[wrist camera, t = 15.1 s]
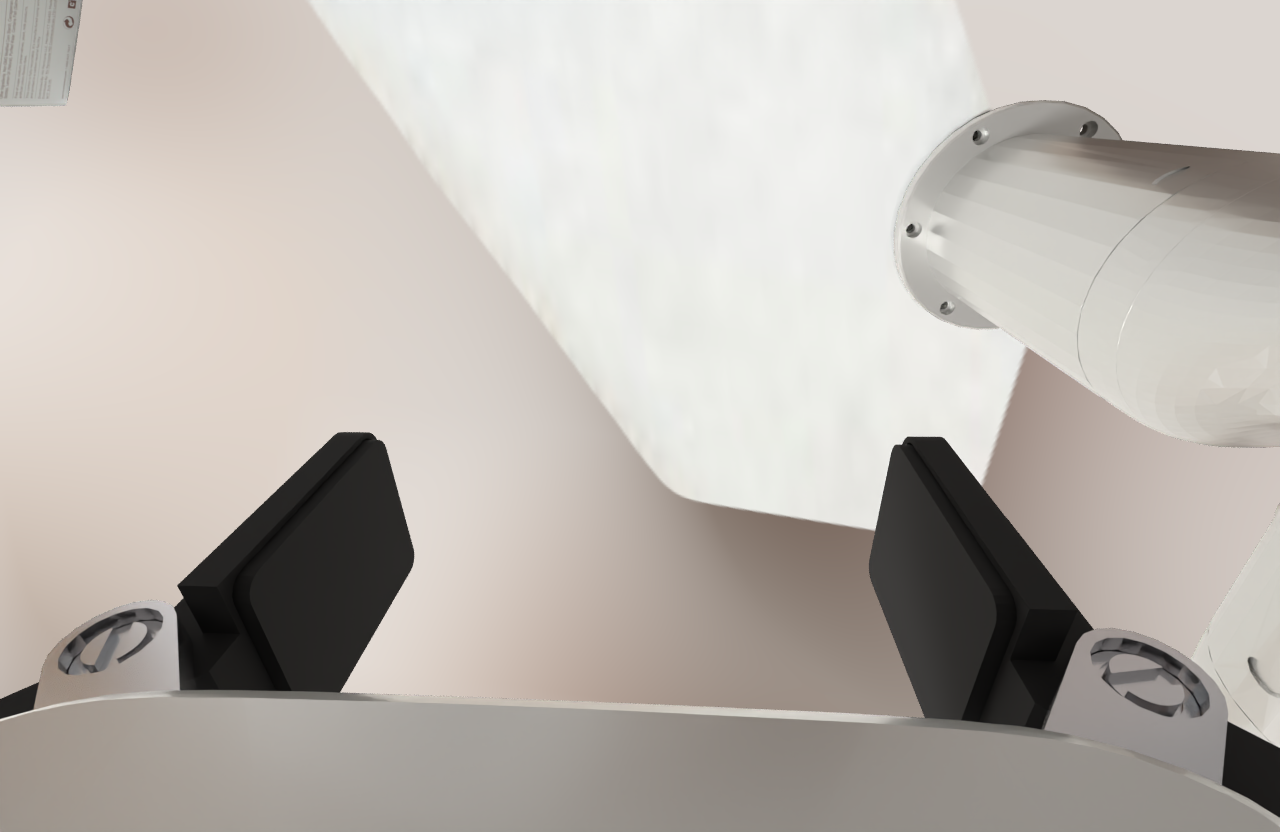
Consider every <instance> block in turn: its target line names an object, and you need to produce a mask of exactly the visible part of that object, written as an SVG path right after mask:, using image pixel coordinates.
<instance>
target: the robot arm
mask: <svg viewBox="0 0 1280 832" xmlns="http://www.w3.org/2000/svg"><path fill="white" fill-rule="evenodd" d="M1082 126H1083V129H1082V131H1081V132H1080V129H1081V127H1082ZM975 131H977V132H978V136H977V138H976V139H975V140H973V134H974V132H975ZM910 224H912V226H913V227H912V229H911V230H910V231H908V232H906V229H907V227H908V226H909V225H910ZM894 256H895V261H896V266H897V271H898V273H899V275H900V278H901V280H902V282H903V284H904V286H905V288H906V290H907V291H908V292H909V293H910V295H911V296H912V297H913V299H914V300H915V301H916V302H917V303H918V304H919V305H921V306H922V307H923V308H924V309H925V310H926V311H927V312H929V313H930V314H932V315H933V316H935V317H936V318H938V319H940V320H942V321H944V322H947V323H950V324H953V325H955V326H958V327H964V328H971V329H977V330H979V329H999V328H1001V329H1002V330H1004V331H1005V332H1006V333H1008V334H1009V335H1011V336H1012V337H1014V338H1015V339H1017V340H1018V341H1019V342H1021V343H1022V344H1024V345H1025V346H1027V347H1028V348H1030V349H1031V350H1032V351H1034V352H1035V353H1037V354H1038V355H1040V356H1041V357H1043V358H1044V359H1045V360H1047V361H1048V362H1050V363H1051V364H1053V365H1054V366H1056V367H1057V368H1059V369H1060V370H1061V371H1063V372H1064V373H1066V374H1067V375H1069V376H1070V377H1072V378H1073V379H1074V380H1076V381H1077V382H1079V383H1080V384H1082V385H1083V386H1085V387H1086V388H1087V389H1089V390H1090V391H1092V392H1093V393H1095V394H1096V395H1098V396H1100V397H1101V398H1103V399H1104V400H1106V401H1107V402H1109V403H1110V404H1112V405H1113V406H1115V407H1116V408H1118V409H1119V410H1120V411H1122V412H1123V413H1125V414H1127V415H1128V416H1130V417H1131V418H1133V419H1134V420H1136V421H1138V422H1140V423H1141V424H1143V425H1145V426H1147V427H1149V428H1151V429H1153V430H1155V431H1158V432H1160V433H1162V434H1165V435H1168V436H1170V437H1173V438H1177V439H1180V440H1185V441H1190V442H1194V443H1199V444H1204V445H1210V446H1218V447H1246V448H1248V447H1249V448H1252V447H1253V448H1266V447H1280V154H1277V153H1266V152H1254V151H1242V150H1230V149H1218V148H1206V147H1194V146H1183V145H1171V144H1159V143H1146V142H1135V141H1124V140H1122V138H1121V137H1120V135H1119V133H1118V132H1117V131H1116V130H1115V129H1114V128H1113V127H1112V126H1111V125H1110V124H1109V123H1108V122H1107V121H1106V120H1105V119H1104V118H1103V117H1101V116H1100V115H1098V114H1096V113H1095V112H1093V111H1091V110H1089V109H1087V108H1086V107H1083V106H1079V105H1075V104H1072V103H1068V102H1065V101H1046V100H1044V101H1027V102H1019V103H1015V104H1011V105H1007V106H1003V107H1000V108H996V109H994V110H992V111H990V112H988V113H985V114H983V115H981V116H979V117H977V118H974V119H973V120H971V121H970V122H968V123H967V124H965V125H964V126H962V127H961V128H959V129H958V130H956V131H955V132H953V133H952V134H951V135H950V136H949V137H948V138H947V139H946V140H944V141H943V142H942V143H941V144H940V145H939V146H938V147H937V148H936V149H935V150H934V151H933V152H932V153H931V154H930V156H929V157H928V158H927V159H926V161H925V162H924V163H923V164H922V166H921V167H920V168H919V169H918V171H917V172H916V174H915V176H914V178H913V179H912V181H911V183H910V185H909V186H908V188H907V190H906V192H905V195H904V197H903V200H902V202H901V205H900V208H899V210H898V214H897V219H896V225H895V230H894ZM944 302H945V305H944V306H943V307H941V305H942V304H943V303H944ZM413 562H414V549H413V545H412V542H411V538H410V534H409V531H408V527H407V524H406V520H405V516H404V512H403V509H402V505H401V501H400V497H399V494H398V490H397V487H396V483H395V479H394V475H393V472H392V468H391V464H390V461H389V457H388V453H387V450H386V447H385V444H384V443H383V442H382V441H380V440H377V439H376V437H375V436H374V435H373V434H371V433H363V432H362V433H360V432H353V433H352V432H341V433H337V434H336V435H334V436H333V437H332V438H331V439H330V440H329V441H328V442H327V443H326V444H325V445H324V446H323V447H322V448H321V449H320V450H319V451H318V452H317V453H315V454H314V455H313V456H312V457H311V458H310V459H309V460H308V461H307V462H306V463H305V464H304V465H303V466H302V467H301V468H300V469H299V470H298V471H297V472H296V473H295V474H293V476H291V477H290V478H289V479H288V480H287V481H286V482H285V483H284V484H283V485H282V486H281V487H280V488H279V489H278V490H277V491H276V492H275V493H274V494H273V495H271V496H270V497H269V498H268V499H267V500H266V501H265V502H264V503H263V504H262V505H261V506H260V507H259V508H258V509H257V510H256V511H255V512H254V513H253V514H252V515H251V516H250V517H248V518H247V519H246V520H245V521H244V522H243V523H242V524H241V525H240V526H239V527H238V528H237V529H236V530H235V531H234V532H233V533H232V534H231V535H230V536H229V537H228V538H227V539H225V540H224V541H223V542H222V543H221V544H220V545H219V546H218V547H217V548H216V549H215V550H214V551H213V552H212V553H211V554H210V555H209V556H208V557H207V558H206V559H205V560H203V561H202V562H201V563H200V564H199V565H198V566H197V567H196V568H195V569H194V570H193V571H192V572H191V573H190V574H189V575H188V576H187V577H186V578H185V579H184V580H183V581H182V582H181V583H179V584H178V588H179V590H180V591H181V593H182V595H183V597H184V598H183V599H182V600H181V601H180V602H179V603H178V604H177V606H175V607H173V606H172V605H170V604H168V603H166V602H164V601H155V600H147V601H140V602H133V603H130V604H127V605H123V606H120V607H117V608H114V609H112V610H109V611H107V612H105V613H103V614H101V615H98V616H96V617H94V618H92V619H91V620H89V621H87V622H86V623H84V624H82V625H81V626H79V627H77V628H76V629H74V630H73V631H72V632H71V633H70V634H68V635H67V636H66V637H64V638H63V639H62V640H61V641H60V642H59V643H58V644H57V645H56V646H55V647H54V648H53V650H52V651H51V652H50V653H49V654H48V656H47V658H46V660H45V662H44V664H43V667H42V671H41V676H40V680H39V682H38V683H36V684H34V685H31V686H29V687H27V688H24V689H22V690H20V691H18V692H15V693H13V694H11V695H9V696H6V697H4V698H2V699H0V832H1280V503H1279V505H1278V507H1277V509H1276V511H1275V517H1274V519H1273V521H1272V522H1271V524H1270V526H1269V527H1268V529H1267V531H1266V532H1265V534H1264V535H1263V537H1262V538H1261V540H1260V542H1259V543H1258V545H1257V547H1256V548H1255V550H1254V551H1253V553H1252V555H1251V556H1250V558H1249V559H1248V561H1247V563H1246V564H1245V566H1244V568H1243V569H1242V571H1241V572H1240V574H1239V576H1238V577H1237V579H1236V581H1235V582H1234V584H1233V585H1232V587H1231V588H1230V590H1229V592H1228V593H1227V595H1226V597H1225V598H1224V600H1223V602H1222V603H1221V605H1220V606H1219V608H1218V610H1217V611H1216V613H1215V614H1214V616H1213V618H1212V619H1211V621H1210V624H1209V626H1208V627H1207V629H1206V631H1205V633H1204V634H1203V636H1202V637H1201V639H1200V641H1199V643H1198V645H1197V647H1196V650H1195V652H1194V654H1193V656H1192V658H1191V660H1190V659H1189V658H1187V657H1186V656H1185V655H1183V654H1182V653H1180V652H1179V651H1177V650H1175V649H1173V648H1171V647H1169V646H1167V645H1166V644H1164V643H1162V642H1160V641H1158V640H1156V639H1153V638H1150V637H1147V636H1144V635H1141V634H1139V633H1136V632H1131V631H1126V630H1120V629H1115V628H1109V629H1107V628H1106V629H1095V630H1094V629H1093V628H1092V627H1091V625H1090V624H1089V623H1088V622H1087V620H1086V619H1085V618H1084V617H1083V615H1082V614H1081V613H1080V611H1079V610H1078V609H1077V608H1076V606H1075V605H1074V604H1073V602H1072V601H1071V600H1070V598H1069V597H1068V596H1067V595H1066V593H1065V592H1064V591H1063V589H1062V588H1061V587H1060V586H1059V584H1058V583H1057V582H1056V581H1055V579H1054V578H1053V577H1052V575H1051V574H1050V573H1049V572H1048V570H1047V569H1046V568H1045V566H1044V565H1043V564H1042V563H1041V561H1040V560H1039V559H1038V557H1037V556H1036V555H1035V554H1034V552H1033V551H1032V550H1031V548H1030V547H1029V546H1028V545H1027V543H1026V542H1025V541H1024V539H1023V538H1022V537H1021V536H1020V534H1019V533H1018V532H1017V531H1016V529H1015V528H1014V527H1013V525H1012V524H1011V523H1010V521H1009V520H1008V519H1007V518H1006V517H1005V516H1004V515H1003V513H1002V512H1001V511H1000V509H999V508H998V507H997V505H996V504H995V503H994V502H993V501H992V499H991V498H990V496H988V494H987V493H986V491H985V490H984V489H983V487H982V486H981V485H980V484H979V482H978V481H977V480H976V478H975V477H974V476H973V475H972V473H971V472H970V471H969V469H968V468H967V467H966V466H965V464H964V463H963V462H962V460H961V459H960V458H959V457H958V455H957V454H956V453H955V451H954V450H953V449H952V448H951V446H950V445H949V444H948V442H947V441H946V440H945V439H944V438H943V437H907V438H906V439H905V440H904V442H903V444H902V445H895V446H894V447H893V449H892V453H891V457H890V462H889V467H888V472H887V477H886V482H885V487H884V491H883V496H882V501H881V506H880V511H879V516H878V521H877V526H876V530H875V536H874V540H873V545H872V550H871V555H870V560H869V573H870V578H871V582H872V584H873V587H874V590H875V592H876V594H877V597H878V600H879V602H880V605H881V607H882V610H883V612H884V615H885V617H886V620H887V622H888V625H889V628H890V630H891V633H892V635H893V638H894V640H895V643H896V645H897V648H898V650H899V653H900V655H901V658H902V661H903V663H904V666H905V668H906V671H907V673H908V676H909V678H910V681H911V683H912V686H913V688H914V691H915V694H916V696H917V699H918V701H919V704H920V706H921V709H922V711H923V714H924V716H925V718H916V717H899V716H883V715H867V714H851V713H832V712H810V711H788V710H767V709H744V708H743V709H742V708H722V707H701V706H678V705H656V704H631V703H607V702H583V701H558V700H557V701H555V700H531V699H507V698H480V697H453V696H451V697H450V696H424V695H395V694H394V695H393V694H365V693H340V691H341V690H342V688H343V686H344V685H345V683H346V681H347V679H348V677H349V676H350V674H351V672H352V671H353V669H354V667H355V666H356V664H357V662H358V660H359V659H360V657H361V655H362V654H363V652H364V650H365V648H366V647H367V645H368V643H369V641H370V640H371V638H372V636H373V635H374V633H375V631H376V629H377V628H378V626H379V624H380V623H381V621H382V619H383V617H384V616H385V614H386V612H387V610H388V609H389V607H390V605H391V604H392V602H393V600H394V598H395V596H396V595H397V593H398V591H399V590H400V588H401V586H402V585H403V583H404V581H405V579H406V578H407V576H408V574H409V573H410V571H411V568H412V566H413Z"/></svg>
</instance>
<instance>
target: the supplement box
mask: <svg viewBox="0 0 1280 832" xmlns="http://www.w3.org/2000/svg"><path fill="white" fill-rule="evenodd" d="M81 8H82V0H0V107H11V106H12V107H13V106H14V107H15V106H65V105H66V102H67V100H68V94H69V90H70V83H71V75H72V70H73V62H74V55H75V50H76V42H77V36H78V29H79V23H80V15H81Z"/></svg>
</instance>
